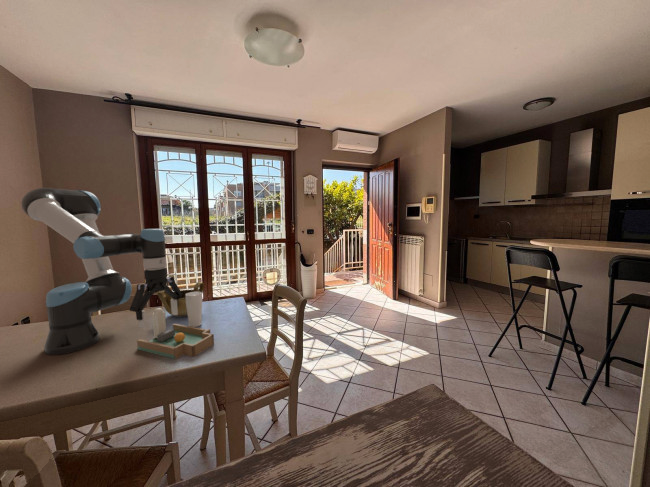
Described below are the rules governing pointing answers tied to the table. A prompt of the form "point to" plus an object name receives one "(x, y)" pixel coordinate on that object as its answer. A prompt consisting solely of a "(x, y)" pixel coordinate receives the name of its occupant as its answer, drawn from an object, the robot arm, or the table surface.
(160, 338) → the striker
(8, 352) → the table surface
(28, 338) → the table surface
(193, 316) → the drinking glass
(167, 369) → the table surface
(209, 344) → the pitch
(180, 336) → the ball
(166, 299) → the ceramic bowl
